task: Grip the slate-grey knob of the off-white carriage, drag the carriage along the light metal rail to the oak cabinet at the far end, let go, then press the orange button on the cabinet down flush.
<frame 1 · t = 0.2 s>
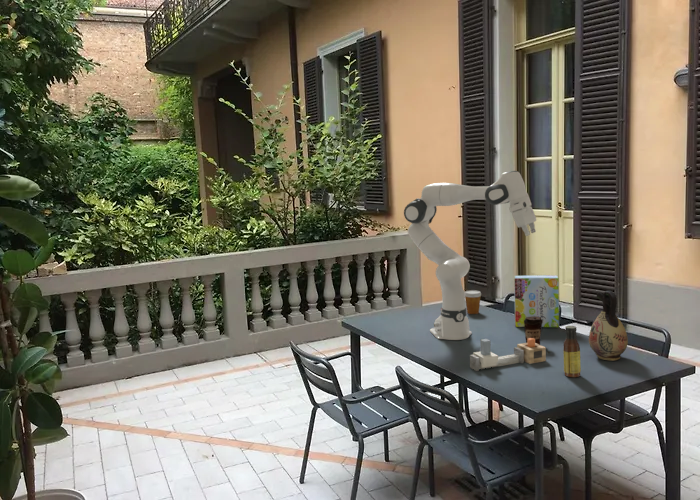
hand: (531, 234, 274), 52 cm above the table, tool tilted 20°, fingers open, 8 cm apart
coffee cup: (533, 345, 282), on the table
snack box: (536, 325, 313), on the table
ceramic jug: (608, 358, 260), on the table
cabinet: (531, 359, 263), on the table
carriage: (485, 352, 254), point 6 cm above the table, slide at 0.0 cm
disposable coffee cup: (473, 313, 343), on the table
sauce bottle: (571, 375, 242), on the table
rail: (497, 365, 257), on the table
button: (531, 344, 262), point 7 cm above the table, slide at 0.0 cm
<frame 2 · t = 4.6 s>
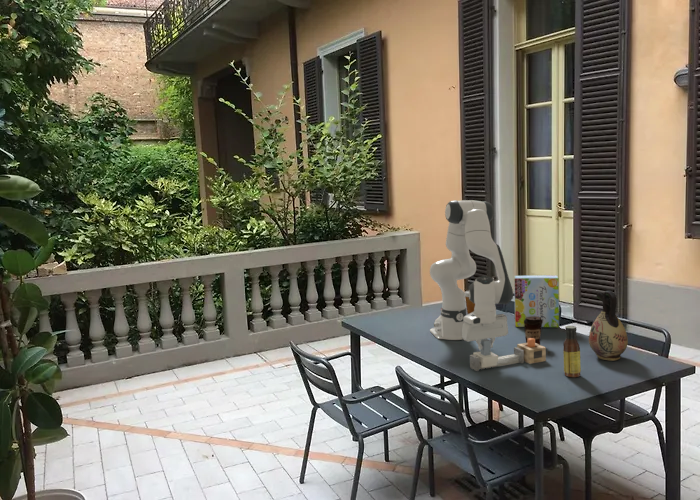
hand: (485, 348, 254), 8 cm above the table, tool pointing down, fingers closed on carriage, 3 cm apart
carriage: (485, 352, 254), point 6 cm above the table, slide at 0.0 cm, touching gripper
everything else where it was.
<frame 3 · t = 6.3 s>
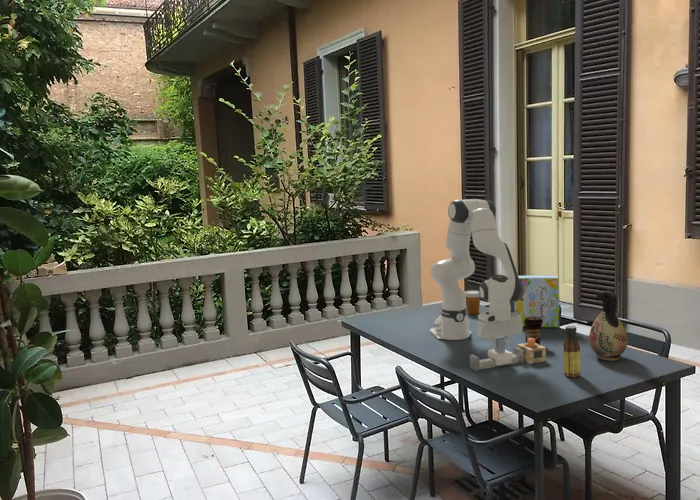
hand: (500, 346, 256), 8 cm above the table, tool pointing down, fingers closed on carriage, 3 cm apart
carriage: (500, 349, 257), point 6 cm above the table, slide at 7.0 cm, touching gripper
everything else where it was.
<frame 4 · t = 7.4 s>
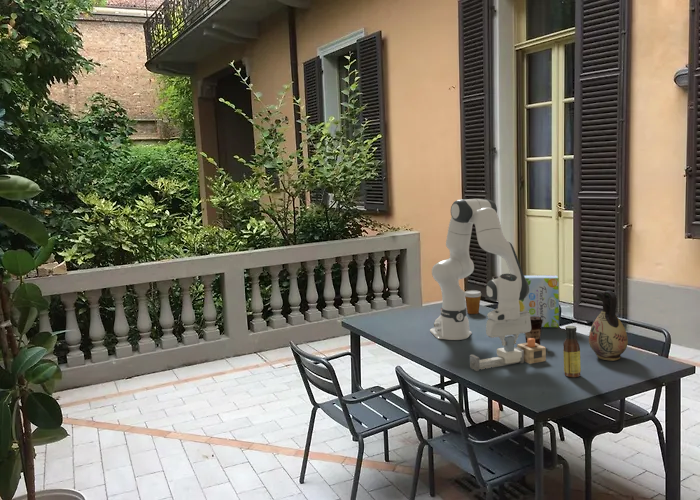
hand: (509, 344, 258), 8 cm above the table, tool pointing down, fingers closed on carriage, 3 cm apart
carriage: (509, 348, 258), point 6 cm above the table, slide at 11.4 cm, touching gripper
everything else where it was.
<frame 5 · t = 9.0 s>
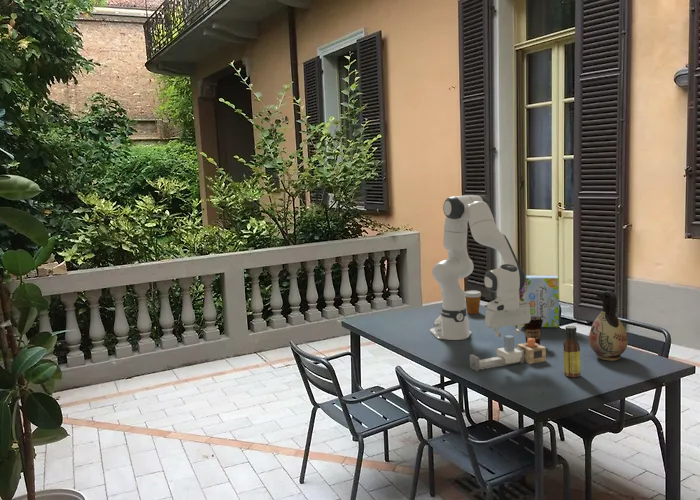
hand: (507, 335, 258), 12 cm above the table, tool pointing down, fingers open, 8 cm apart
carriage: (509, 348, 258), point 6 cm above the table, slide at 11.5 cm
everything else where it was.
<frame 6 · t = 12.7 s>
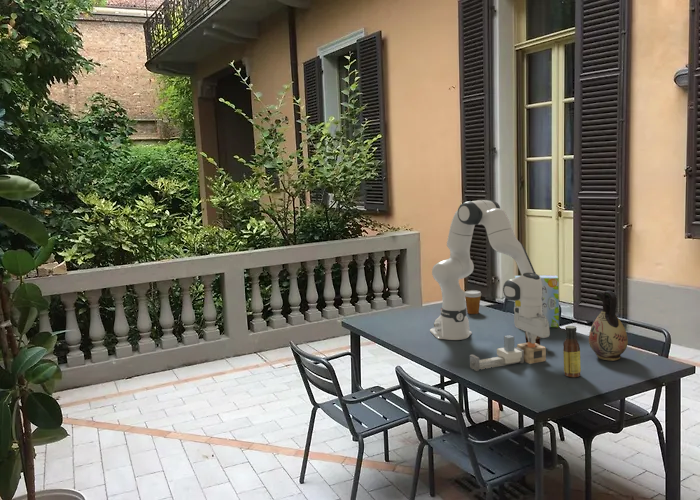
hand: (531, 342, 261), 7 cm above the table, tool pointing down, fingers closed, pressing on button
button: (531, 348, 262), point 5 cm above the table, slide at 1.6 cm, touching gripper
everything else where it was.
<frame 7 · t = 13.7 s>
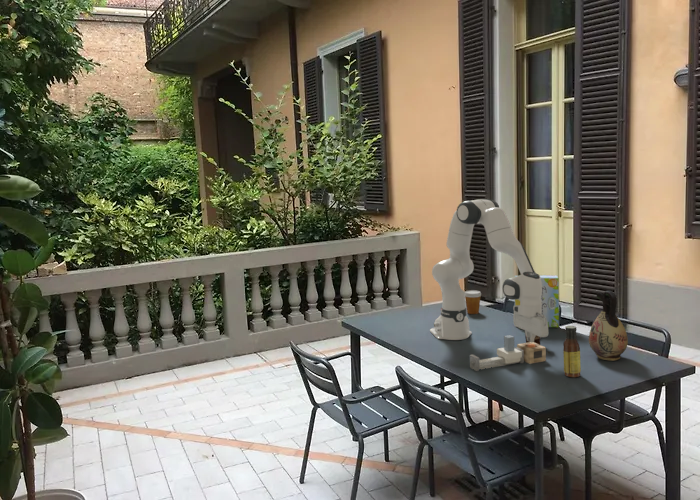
hand: (530, 341, 262), 8 cm above the table, tool pointing down, fingers closed
button: (531, 350, 262), point 4 cm above the table, slide at 2.5 cm
everything else where it was.
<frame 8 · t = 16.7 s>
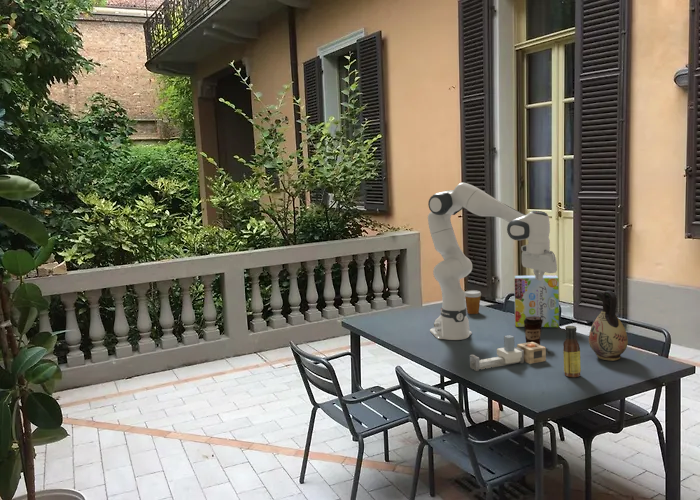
hand: (538, 280, 265), 33 cm above the table, tool pointing down, fingers closed
nothing on the table moved.
at the end: carriage slide at 11.5 cm; button slide at 2.5 cm; the gripper is holding nothing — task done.
